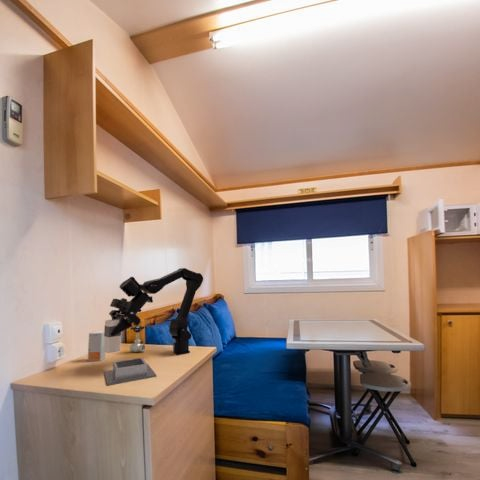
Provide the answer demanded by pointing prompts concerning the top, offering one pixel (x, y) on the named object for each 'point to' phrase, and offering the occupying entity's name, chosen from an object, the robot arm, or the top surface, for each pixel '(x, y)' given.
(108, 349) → the plug
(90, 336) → the skincare box
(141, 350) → the valve
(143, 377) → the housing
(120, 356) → the top surface
